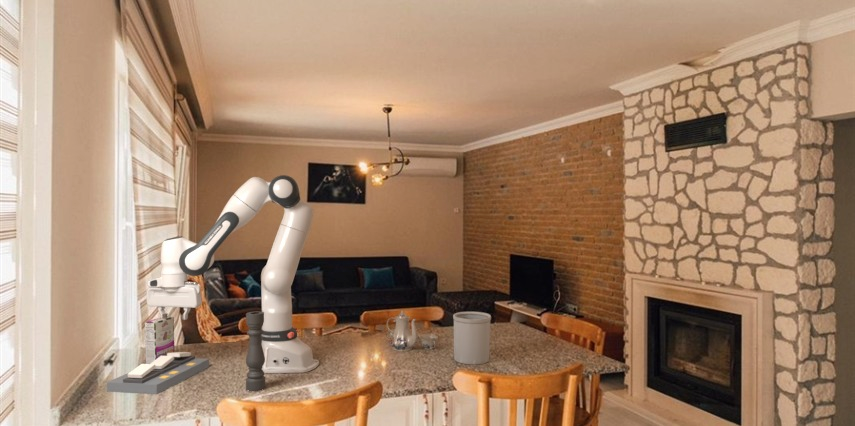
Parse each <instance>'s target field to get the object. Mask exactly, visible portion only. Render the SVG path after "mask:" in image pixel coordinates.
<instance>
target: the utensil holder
mask: <svg viewBox="0 0 855 426" xmlns="http://www.w3.org/2000/svg"><path fill="white" fill-rule="evenodd" d="M452 318H453V356H454V357H453V359H454V361H455V362H457V363H459V364H464V365H483V364H486V363H488V362H489V361H490V347H491V346H490V344H491V320H492V316H491V314H489V313H487V312H482V311H459V312H456V313H454V314H453V315H452Z"/></svg>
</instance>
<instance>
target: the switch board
mask: <svg viewBox="0 0 855 426" xmlns="http://www.w3.org/2000/svg"><path fill="white" fill-rule="evenodd" d="M209 367H210V359H209V358H196V355H191V356H184V357H174V360H173V361H171V362H170V363H169V364H168V365H166V366H165V367H164V368H162V369H153V370H152V371H150V372H149V373H148V374H147V375H145V376H144V377H143V378H129V377H128V373H129V372H128V373H125V374H123V375H121V376H118V377H116V378H113V379H111V380H109V381H107V382H106V392H111V393H113V392H114V393H128V394H129V393H130V394H143V395H144V394H148V395H149V394H150V395H158V394H159V393H162V392H164V391H165V390H168V389H169V388H172V387H174V386H176V385H177V384H179V383H181V382H183V381H186V380H187V379H189V378H190V377H194V376H195V375H197V374H199V373H200V372H202V371H204V370H206V369H207V368H208V369H209Z"/></svg>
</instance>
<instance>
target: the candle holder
mask: <svg viewBox="0 0 855 426" xmlns="http://www.w3.org/2000/svg"><path fill="white" fill-rule="evenodd" d="M245 317H246V318H245V323H246V326H247V328H248V330H247V331H246V334H247V335H248V340H249V341H248V343H249V344H248V350H247V354H246V358H245V365H246V367H248V372H247V373H246V379H245V391H247V390H249V391H248V392H250V391H255V392H259V391H258V390H261V391H263V390H265V389H266V376H265V373H264V372H263V370H262V366H263V365H264V363H265V356H264V352H263V348H262V344H261V335H262V333H263V330H262V326H263V323H264V312H262V311H260V310H259V311H249V312H248V311H247V313H245ZM264 388H265V389H264ZM262 389H263V390H262Z"/></svg>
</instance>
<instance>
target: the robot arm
mask: <svg viewBox="0 0 855 426" xmlns="http://www.w3.org/2000/svg"><path fill="white" fill-rule="evenodd" d="M300 189H301V188H300V185H299V183H298V182H297V181H296V180H295V179H294V178H293V177H291V176H289V175H285V174H283V175H281V174H280V175H277V176H275V177H274V178H273V179H272V180H271V181H270V182H269V181H266V180H265V179H263V178H261V177H258V176H253V177H250V178H249V179H247V180H246V181H245V182H244V183H243V184H242V185H241V186H239V188H238V189H237V190H236V191H235V192H234V194H232V195H231V197H230V198H229V199H228V201H227V203H226V204H225V205H224V207H223V209H222V211H221V213H220V214H219V217H218V218H217V220H216V222H215V223H214V224H213V226H212V227H211V228H210V229H209V230H208V231H207V233H205V235H204V236H203V237H202V238H201V239H200V240H199V241H198V243H196V242H194V241H192V240H190V239H188V238H186V237H185V236H175V237H169V238H167V239H165V240H163V242H162V243H161V248H160V264H161V270H160V277H157V278H153V279H151V280H148V281H147V286H148V288H147V291H146V304H147V306H148V307H157V310H158V312H159V314H160V317H161V319H167V318H168V313H167V312H166V311H165V309H166V308H183V311H184V312H183V314H181V315H180V317H181V318H180V320H184V321H185V320H188V317H189V316H188V315H189V313H190V312H191V308H192V309H193V308H194V309H195V308H199V307H201V306H202V302H203V301H202V292H201V288H202V287H201V284H199V283H198V282H197V281H188V276H190V277H198V276H202V275H203V274H205V272H207V271H208V269H210V268H211V267H212V266H213V264H214V263H215V260H216V258H215V257H216V256H215V252H216V251H217V250H218V249H219V248H220V247H221V246H222V244H223V243H224V242H225V241H226V239H228V237H229V236H230V235H231V234H232V233H234V232H235V231H238V230H239V229H241V228H243V227H244V226H245V225H247V224H248V223H249V222H250V221H251V220H252V219H254V218H255V217H256V215H257V214H258V213H259V212H260V211H261V209H262V208H263V207H264V206H265V205H266V204H268V203H269V202H271V203H274V204H277V205H279V206H281V207H282V208H283V209H284V210H283V211H284V212H283V217H282V220H281V222H280V224H279V228H278V230H277V233H276V236H275V238H274V241H273V244H272V247H271V250H270V252H269V256H268V258H267V262H266V265H265V266H264V267H263V268H262V270H261V274H260V281H261V283H260V284H261V285H260V287H261V288H260V289H261V312H264V323H263V326H262V328H261V329H262V330H263V333H262V335H261V344H262V348H263V352H264V356H265V363H264V365H263V366H262V370H263V372H264V374H283V373H285V374H290V373H292V374H293V373H294V374H295V373H307V372H311V371H313V370H314V369H316V368H317V367H318V366H319V365H320V361H319V359H315V358H314V356H313V350H312V348H311V347H310V346H309V345H308V344H306V343H305V342H303V340H301V339H300V338H299V337H298V333H299V328H298V329H295V328H294V327H293V304H292V303H293V302H292V301H293V300H292V285H293V282H294V280H295V275H296V273H297V269H298V266H299V263H300V259H301V256H302V252H303V249H304V248H305V245H306V241H307V239H308V236H309V233H310V230H311V227H312V223H313V218H314V212H315V209H314V208H313V207H314V206H312V204H310V203H309V202H307V201H305V200H303V199H302V198H301V190H300Z"/></svg>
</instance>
